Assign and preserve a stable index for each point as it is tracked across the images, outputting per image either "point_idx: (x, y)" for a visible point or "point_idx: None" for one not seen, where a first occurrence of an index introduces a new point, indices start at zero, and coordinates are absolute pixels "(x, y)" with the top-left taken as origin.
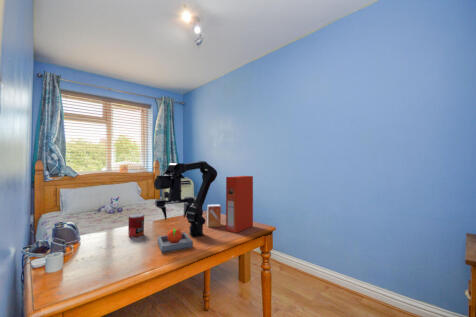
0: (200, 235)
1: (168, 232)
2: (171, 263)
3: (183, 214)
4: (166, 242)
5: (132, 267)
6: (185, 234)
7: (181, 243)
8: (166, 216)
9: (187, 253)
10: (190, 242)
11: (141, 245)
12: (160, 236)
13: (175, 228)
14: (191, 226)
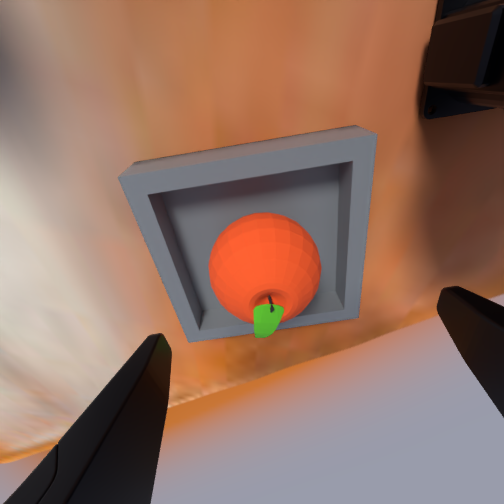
0: (494, 107)
1: (215, 286)
2: (238, 382)
3: (476, 316)
4: (206, 217)
5: None
6: (359, 192)
7: (293, 325)
8: (164, 419)
9: (305, 336)
10: (343, 316)
11: (27, 187)
12: (145, 183)
13: (278, 289)
14: (501, 67)
